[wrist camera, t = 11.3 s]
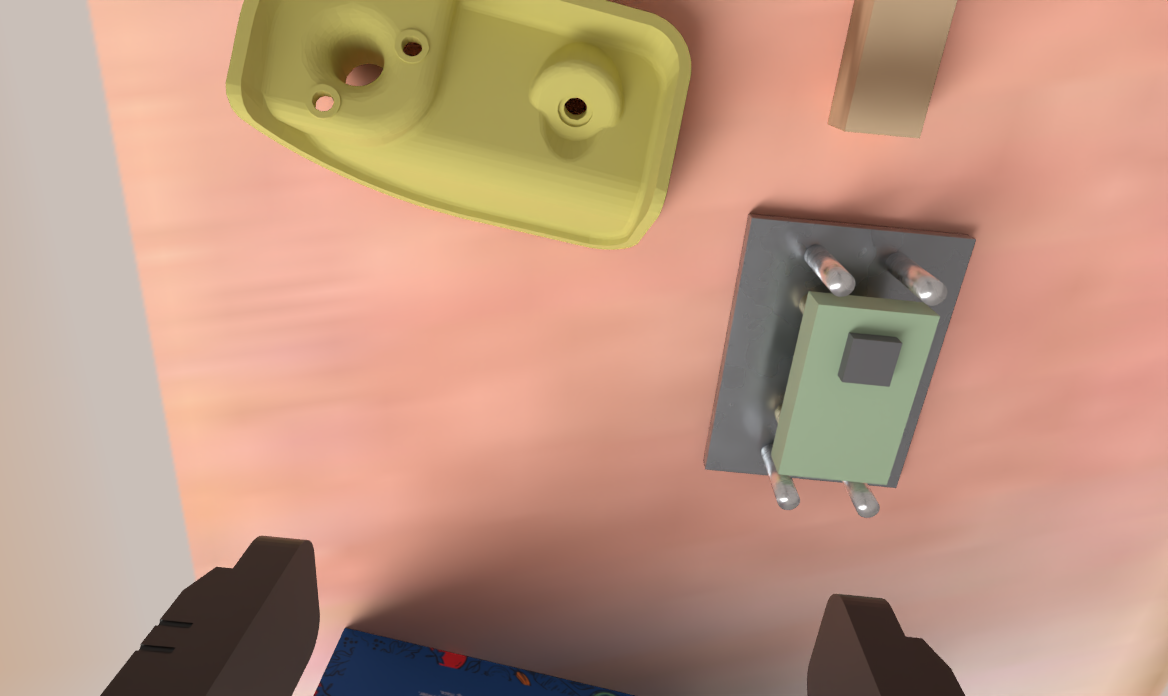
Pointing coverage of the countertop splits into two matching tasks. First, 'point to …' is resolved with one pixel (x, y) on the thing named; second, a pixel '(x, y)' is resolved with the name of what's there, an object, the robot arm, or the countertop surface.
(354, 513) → the countertop surface
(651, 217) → the plastic component
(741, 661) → the countertop surface
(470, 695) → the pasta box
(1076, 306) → the countertop surface
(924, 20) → the block
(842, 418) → the board
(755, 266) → the chassis
